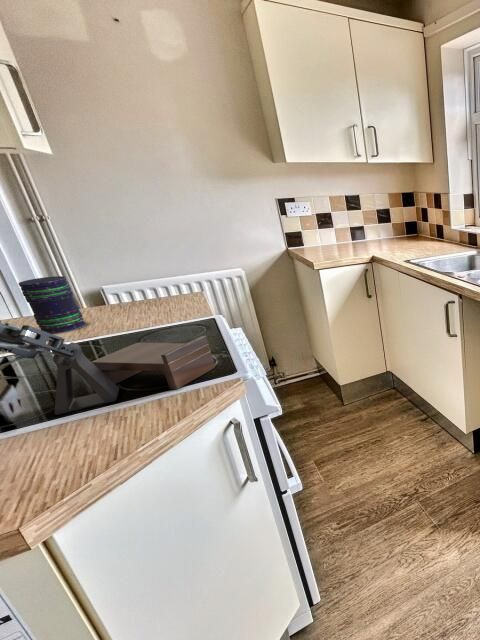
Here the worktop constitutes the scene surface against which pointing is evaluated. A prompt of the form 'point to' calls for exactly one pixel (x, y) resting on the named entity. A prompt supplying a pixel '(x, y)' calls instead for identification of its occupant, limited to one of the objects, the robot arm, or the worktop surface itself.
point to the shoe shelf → (160, 361)
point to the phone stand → (90, 374)
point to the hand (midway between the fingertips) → (55, 354)
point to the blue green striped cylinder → (52, 304)
